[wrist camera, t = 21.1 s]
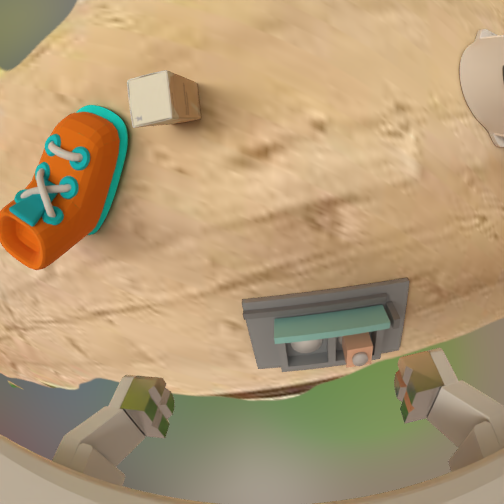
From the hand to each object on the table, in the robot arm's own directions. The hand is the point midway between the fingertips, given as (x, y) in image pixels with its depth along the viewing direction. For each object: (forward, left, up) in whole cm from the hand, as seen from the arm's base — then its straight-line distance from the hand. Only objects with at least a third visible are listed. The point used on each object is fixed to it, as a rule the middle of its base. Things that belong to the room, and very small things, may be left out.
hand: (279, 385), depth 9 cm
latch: (-5, +21, -30) cm, 37 cm away
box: (+10, -12, -31) cm, 35 cm away
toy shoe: (+27, -7, -31) cm, 42 cm away
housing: (-5, +25, -31) cm, 40 cm away
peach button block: (-9, +26, -30) cm, 41 cm away
